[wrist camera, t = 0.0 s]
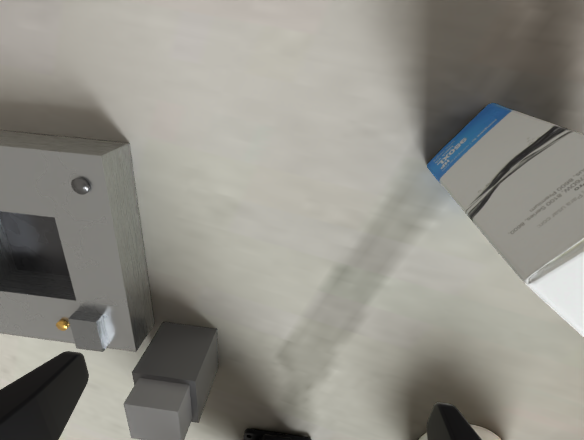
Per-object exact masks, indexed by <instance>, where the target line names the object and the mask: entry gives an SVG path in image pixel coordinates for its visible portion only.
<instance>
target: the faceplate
mask: <svg viewBox="0 0 584 440" xmlns="http://www.w3.org/2000/svg"><path fill="white" fill-rule="evenodd" d="M154 324H155V323H154V316H153V309H152V302H151V295H150V288H149V280H148V273H147V266H146V259H145V252H144V244H143V237H142V230H141V223H140V216H139V209H138V201H137V194H136V187H135V180H134V173H133V166H132V158H131V151H130V144H129V143H123V142H113V141H103V140H93V139H82V138H72V137H62V136H52V135H42V134H32V133H22V132H12V131H2V130H0V333H2V334H9V335H17V336H24V337H31V338H38V339H46V340H53V341H60V342H68V343H75V345H76V348H79V349H86V350H93V351H101V352H103V351H104V350H105V348H112V349H119V350H126V351H134V352H136V351H137V350H138V348H139V347H140V345H141V344H142V342H143V340H144V339H145V337H146V336H147V334H148V333H149V331H150V330H151V328H152V327H153V325H154Z"/></svg>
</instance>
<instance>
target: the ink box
mask: <svg viewBox="0 0 584 440" xmlns="http://www.w3.org/2000/svg"><path fill="white" fill-rule="evenodd" d="M427 168H428V169H429V170H430V171H431V173H432V174H433V175H434V176H435V178H436V179H437V180H438V181H439V182H440V184H441V185H442V186H443V187H444V188H445V189H446V190H447V191H448V193H449V194H450V195H451V196H452V198H453V199H454V200H455V201H456V202H457V204H458V205H459V206H460V207H461V208H462V210H463V211H464V212H465V213H466V214H467V216H468V217H469V218H470V219H471V220H472V221H473V223H474V224H475V225H476V226H477V228H478V229H479V230H480V231H481V232H482V234H483V235H484V236H485V237H486V238H487V240H488V241H489V242H490V243H491V244H492V246H493V247H494V248H495V249H496V250H497V252H498V253H499V254H500V255H501V256H502V258H503V259H504V260H505V261H506V262H507V263H508V265H509V266H510V267H511V268H512V269H513V270H514V272H515V273H516V274H517V275H518V276H519V277H520V279H521V280H522V281H523V282H524V283H525V284H526V285H527V286H528V287H529V288H530V289H531V290H532V291H533V292H534V293H536V294H537V295H538V296H539V297H540V298H541V299H542V300H543V301H544V302H545V303H546V304H548V305H549V306H550V307H551V308H552V309H553V310H554V311H555V312H556V313H557V314H559V315H560V316H561V317H562V318H563V319H564V320H565V321H566V322H567V323H568V324H569V325H571V326H572V327H573V328H574V329H575V330H576V331H577V332H578V333H579V334H580V335H582V336H583V337H584V134H582V133H579V132H576V131H572V130H569V129H566V128H563V127H561V126H558V125H555V124H552V123H549V122H546V121H544V120H541V119H538V118H535V117H532V116H529V115H526V114H523V113H520V112H518V111H515V110H511V109H509V108H506V107H503V106H501V105H498V104H496V103H491V104H488V105H487V106H486V107H485V108H484V109H483V110H482V111H481V112H480V113H479V114H478V115H477V116H476V117H474V118H473V119H472V120H471V121H470V122H469V123H468V124H467V125H466V126H465V127H464V128H463V129H462V130H461V131H460V132H459V133H458V134H457V135H456V136H455V137H454V138H453V139H452V140H451V141H450V142H449V143H448V144H446V145H445V146H444V147H443V148H442V149H441V150H440V151H439V152H438V153H437V154H436V155H435V157H434V158H433V159H432V160H431V161H430V162H429V163H428V164H427Z"/></svg>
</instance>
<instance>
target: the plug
mask: <svg viewBox="0 0 584 440" xmlns="http://www.w3.org/2000/svg"><path fill="white" fill-rule="evenodd" d="M217 370H218V346H217V329H214V328H206V327H198V326H191V325H183V324H175V323H168V322H163V323H162V325H161V326H160V328H159V330H158V331H157V333H156V335H155V336H154V338H153V339H152V341H151V343H150V344H149V346H148V347H147V349H146V351H145V352H144V354H143V355H142V357H141V359H140V360H139V362H138V364H137V365H136V367H135V368H134V370H133V372H132V375H133V380H134V385H135V386H134V387H133V389H132V391H131V392H130V394H129V396H128V397H127V399H126V401H125V403H124V408H125V412H126V417H127V421H128V426H129V430H130V435H131V438H134V439H141V440H184V439H185V436H186V434H187V431H188V428H189V426H190V423H191V422H197V423H199V420H200V417H201V415H202V412H203V409H204V406H205V403H206V401H207V398H208V395H209V392H210V389H211V387H212V384H213V381H214V378H215V375H216V373H217Z"/></svg>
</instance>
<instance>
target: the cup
mask: <svg viewBox="0 0 584 440" xmlns="http://www.w3.org/2000/svg"><path fill="white" fill-rule="evenodd" d="M470 425H471V424H470ZM471 427H472V428H473V429H474V430H475V432H476V433H477V434H478V435H479V437H480V438H481V439H482V440H501V439H500V438H499V437H498V436H497V435H496V434H494V433H493V432H491V431H490V430H488V429H485V428H483V427H480V426H476V425H471ZM419 440H428V439H427V432H426V433H425V434H424V435H422V436H421V437H420V438H419Z"/></svg>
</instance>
